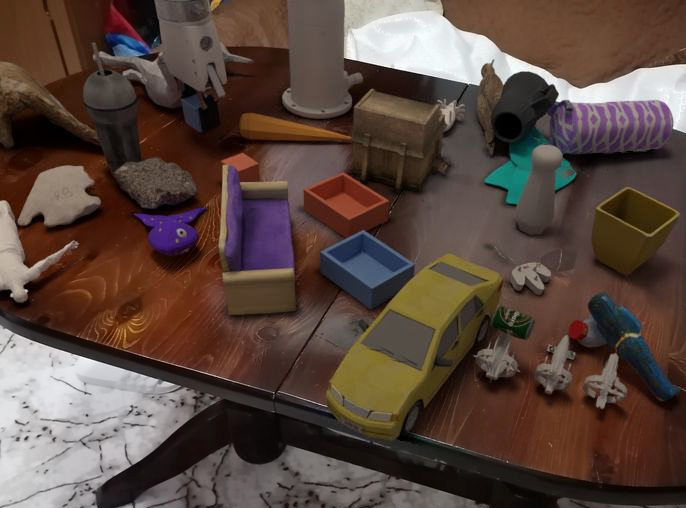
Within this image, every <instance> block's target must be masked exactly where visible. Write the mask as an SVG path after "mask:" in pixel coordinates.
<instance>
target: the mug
mask: <svg viewBox="0 0 686 508" xmlns="http://www.w3.org/2000/svg"><path fill="white" fill-rule="evenodd" d="M503 85H504V86H503V90H502V94H501V98H500V99H499V101H498V102H497V104H496V105H495V107H494V108H493V110H492V112H491V116H490V118H491V124H492V129H493V131H494V133H495V135H494V136H496V138H498V139H499V140H501V141H502V142H506V143H509V142H514V141H520V140H523V139H525V138H526V137H528V136H529V134H530V133H531V131H532V130H533V128H534V126H536V124H537V121H539V120H540V119H541V118H543V117H544V116H546V115H547V110H548V109H549V108H551V107H552V106H553V105H554V104H555V105H556V102H557V100H558V98H559V95H560V93H559V91H558V90H557V88H556V85H555V84H553V83H551V84H549V83H548V82H547V81H546V78H543V77H542V76H541V75H539V74H538V73H536V72H534V71H533V72H532V71H525V70H524V71H522V70H521V71H519V72H515V73H513V74H512V75H511V76H509V77H508V78H507V79H506V80H505V82H504V83H503Z"/></svg>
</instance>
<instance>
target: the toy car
mask: <svg viewBox="0 0 686 508" xmlns="http://www.w3.org/2000/svg"><path fill="white" fill-rule="evenodd" d="M503 284H504V279H503V278H502V276H501V274H500V273H499V272H496V271H494V270H492V269H489V268H486V267H483V266H482V265H479V264H477V263H474V262H472V261H469V260H467V259H464V258H461V257H459V256H456V255H454V254H451V253H449V252H448V253H446V254H443V255H442V256H441V257H439V258H437V259H436V260H434V261H433V262H431V263H429V264H428V265H427V266H425V267H423V268H422V269H421V270H419V272H417V273H416V274H414V277H413V278H412V279H411V280H410V281H409V282H408V283H407V284H406V285H405V286H404V287H403V288H402V289H401V290H400V291H399V292H398V294H396V295H395V296H393V297H392V298H391V300H390V301H389V302H388V303H387V305H386V306H385V307H384V309H383V310H382V311H381V312H380V314H379V315H378V316H377V317H376V318H375V319H374V320H373V322H372V323H371V324H370V325H369V324H368V323H367V322H366V321H365V320H364V319H363V318H361V319H359V321H358V326H359V327H360V329H361V330H362V331H363V333H362V334H361V335H360V337H359V338H358V339H357V340H356V342H355V343H353V345H352V346H351V347H350V349H349V350H348V352H347V353H346V355H345V357H344V358H343V360H342V361H341V363H340V364H339V365H338V367H337V369H336V371H335V372H334V373H333V375H332V377H331V378H330V379H329V380H328V388H327V390H326V392H325V399H326V408H327V410H328V411H329V412H330V413H331V414H332V415H333V416H334V418H335V419H336V420H337V421H338V422H339V423H341V424H342V425H343V426H346V427H348V429H351V430H353V431H354V432H357V433H359V434H361V435H364V436H367V437H368V438H374V439H380V440H385V441H391V442H393V441H395V440H396V439H397V438H399V436H406V435H408V434H409V433H411V432H412V431H413V429H414V427H415V426H416V424H417V422H418V421H419V418H420V415H421V411H422V403H423V409H426V407H427V406H428V405H429V403H430V402H431V400H432V399H433V398H434V397H435V395H436V394H437V393H438V392H439V390H440V389H441V387H442V386H443V385H444V384H445V382H446V381H447V380H448V378H449V377H450V375H452V373H453V372H454V370H455V369H456V368H457V366H458V365H459V364H460V362H461V361H462V360H463V359H464V357H465V356H466V355H467V354H468V352H469V351H470V350H471V349H472V347H473V346H476V347H477V346H479V345H480V344H481V343H482V342H483V341H484V340H485V338H486V336H487V335H488V332H489V329H490V326H491V319H493V316H494V313H495V311H496V310H497V308H498V305H499V302H500V299H501V297H502V295H503V294H502V293H503V292H502V291H503V290H502V288H503ZM488 313H489V314H490V315H489V314H488Z"/></svg>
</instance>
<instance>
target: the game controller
mask: <svg viewBox="0 0 686 508" xmlns="http://www.w3.org/2000/svg"><path fill="white" fill-rule="evenodd" d="M492 247H494V248H495V249H496V250H497V252H498V254H499V255H500V256H501V257H502V258H504V259H506V257H505V256H503V255H502V254H501V253H500V251H499V248H497V247H496V246H495V245H493V244H491V245H489V248H492ZM508 259H510V260H511V261H512V262H513V263H514V266H515V268H514V269H513V270H512V272H511V274H510V276H509V281H510V283H511V285H512V287H513V288H514V290H515V291H522V289H523V287H524V285H525V286H527V288H529V290H530V291H532V292H533V293H534V294H535V295H536V296H541V295H542V294H543V292H544V289H545V285H544V283H548V282H549V280H550V278H551V276H552V272H551V271H550V269H548V268H547V267H546V266H545V265H544V264H543V263H541V262H536V261H532V262H527V263H523V264H520V265H517V262H516V261H515V260H514V259H512V257H510V256H508Z"/></svg>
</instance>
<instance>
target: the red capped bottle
mask: <svg viewBox="0 0 686 508" xmlns="http://www.w3.org/2000/svg"><path fill="white" fill-rule="evenodd" d="M619 306H623V304H620V305H619ZM589 314H590V313H589ZM568 334H569V335H568V336H569V337H570V338H571V339H573V340H576V341H577V342H578V343H579V344H580V345H581V346H583V347H586V348H597V347H601V346H604V345H606V344H608V343H607V342H606V340H605V339H604V338H603V336H602V335H601V333H600V332H599V331H598V329H597V327H596V321H595V320H594V319H593V317H592V315H591V314H590V315H589V317H588V318H586V319H585V320H579V319H576V320H574V321H572V322H571V324H570V325H569V328H568Z"/></svg>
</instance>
